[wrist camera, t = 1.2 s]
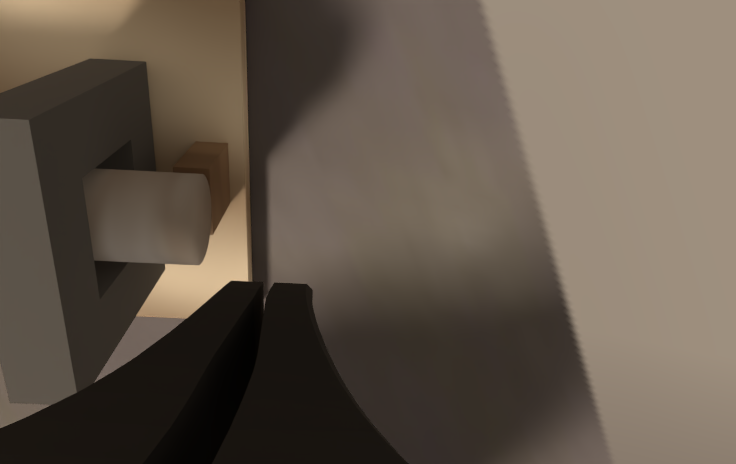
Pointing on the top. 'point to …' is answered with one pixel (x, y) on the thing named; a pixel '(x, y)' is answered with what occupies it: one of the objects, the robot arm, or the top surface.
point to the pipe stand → (158, 133)
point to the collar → (66, 225)
